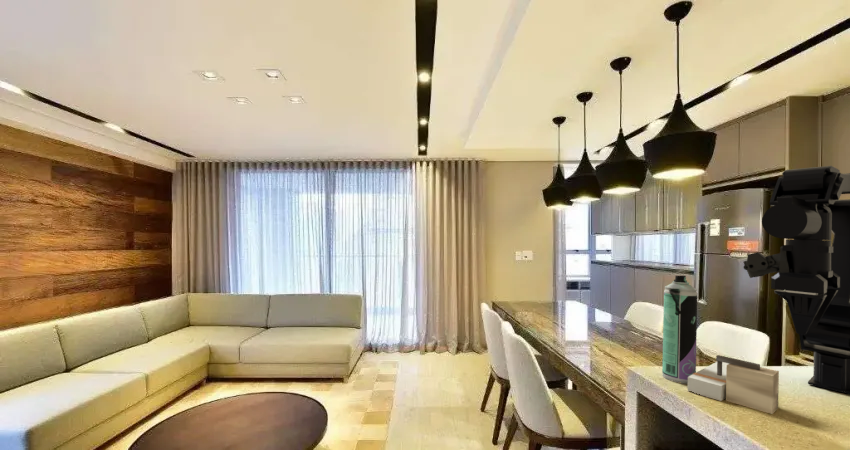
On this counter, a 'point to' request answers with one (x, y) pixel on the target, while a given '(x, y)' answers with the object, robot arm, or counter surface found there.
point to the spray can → (679, 330)
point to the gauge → (750, 384)
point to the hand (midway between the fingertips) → (806, 330)
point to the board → (709, 382)
